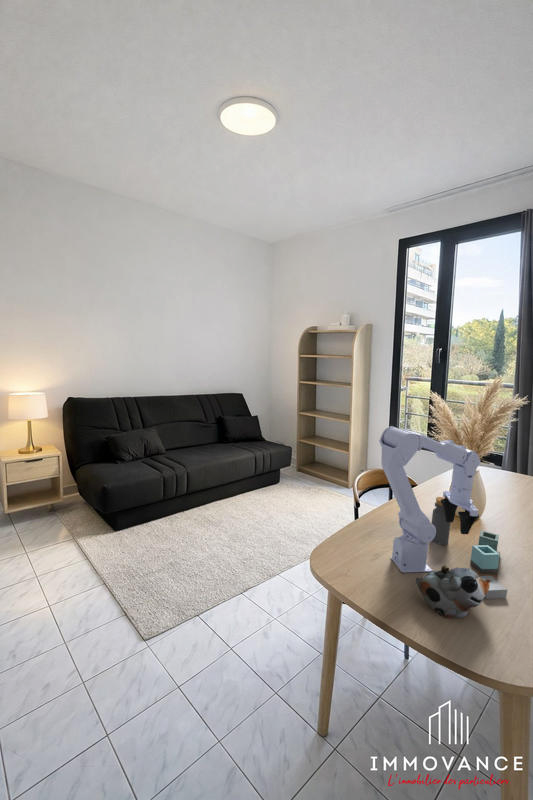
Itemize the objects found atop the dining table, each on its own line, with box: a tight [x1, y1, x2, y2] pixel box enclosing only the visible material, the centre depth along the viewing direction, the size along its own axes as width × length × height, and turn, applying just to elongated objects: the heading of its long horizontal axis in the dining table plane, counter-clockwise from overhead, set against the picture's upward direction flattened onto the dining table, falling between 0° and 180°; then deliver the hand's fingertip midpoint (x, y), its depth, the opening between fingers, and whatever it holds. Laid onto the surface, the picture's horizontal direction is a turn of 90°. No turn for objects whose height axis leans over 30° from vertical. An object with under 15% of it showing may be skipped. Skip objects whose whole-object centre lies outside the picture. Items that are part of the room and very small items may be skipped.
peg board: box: [468, 529, 501, 580], centre depth 113 cm, size 18×7×8 cm, turn 144°
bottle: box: [431, 496, 452, 545], centre depth 127 cm, size 6×6×15 cm
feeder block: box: [480, 576, 508, 600], centre depth 101 cm, size 6×6×2 cm
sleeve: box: [469, 544, 501, 575], centre depth 109 cm, size 5×5×6 cm
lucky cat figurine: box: [415, 564, 491, 619], centre depth 93 cm, size 15×12×14 cm
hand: (456, 527), depth 115 cm, fingers open, 7 cm apart
